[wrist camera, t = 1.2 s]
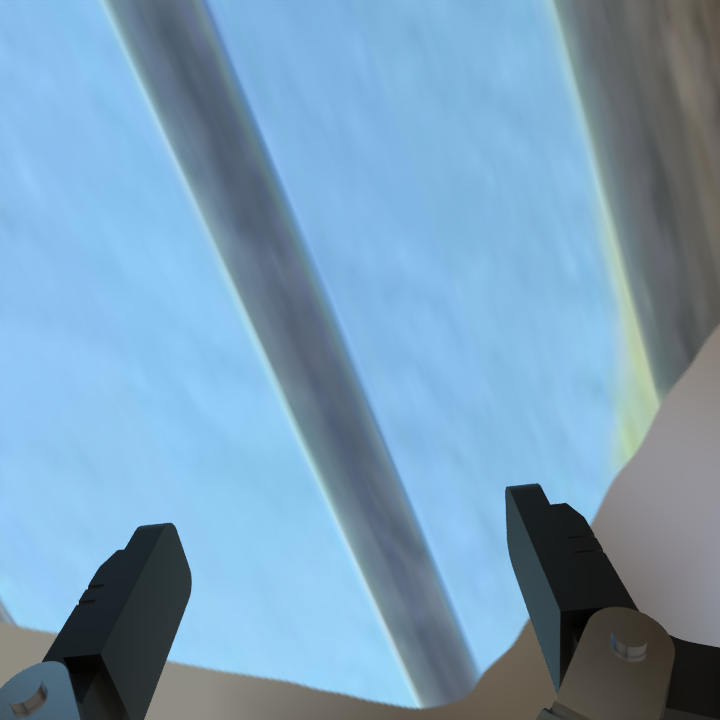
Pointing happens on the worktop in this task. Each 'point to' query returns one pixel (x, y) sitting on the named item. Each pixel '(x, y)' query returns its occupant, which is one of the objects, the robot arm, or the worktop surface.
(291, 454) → the worktop surface
